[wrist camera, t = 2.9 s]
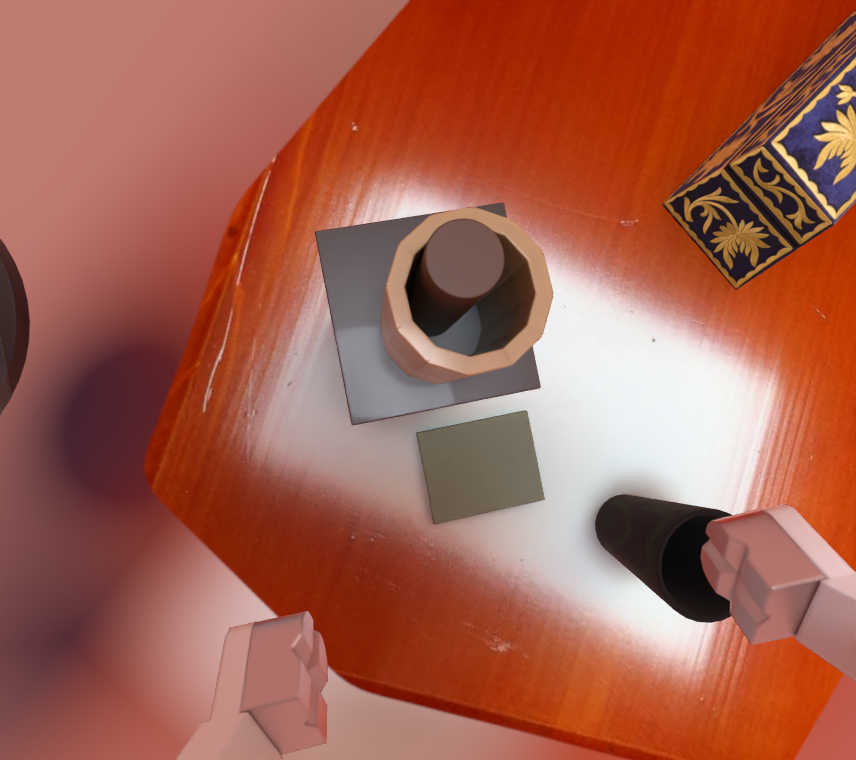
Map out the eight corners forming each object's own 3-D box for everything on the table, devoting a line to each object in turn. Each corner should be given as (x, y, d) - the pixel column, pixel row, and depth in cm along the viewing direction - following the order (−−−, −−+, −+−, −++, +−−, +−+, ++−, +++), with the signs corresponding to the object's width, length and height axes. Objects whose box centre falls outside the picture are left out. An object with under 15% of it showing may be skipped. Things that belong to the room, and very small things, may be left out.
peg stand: (359, 414, 46) (341, 439, 15) (340, 313, 46) (282, 129, 15) (460, 394, 47) (638, 379, 16) (441, 295, 47) (579, 90, 16)
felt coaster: (433, 523, 46) (434, 524, 45) (416, 432, 46) (416, 433, 46) (542, 498, 47) (544, 499, 47) (525, 410, 47) (527, 410, 47)
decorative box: (926, 88, 53) (1038, 25, 44) (735, 289, 50) (815, 264, 41) (856, 9, 53) (955, -71, 44) (659, 206, 50) (723, 163, 41)
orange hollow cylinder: (396, 394, 24) (410, 390, 16) (369, 284, 24) (370, 226, 16) (504, 368, 25) (568, 352, 17) (478, 261, 25) (530, 193, 17)
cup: (675, 498, 49) (774, 530, 37) (649, 579, 48) (742, 637, 36) (599, 471, 48) (676, 494, 36) (572, 552, 47) (641, 603, 35)
